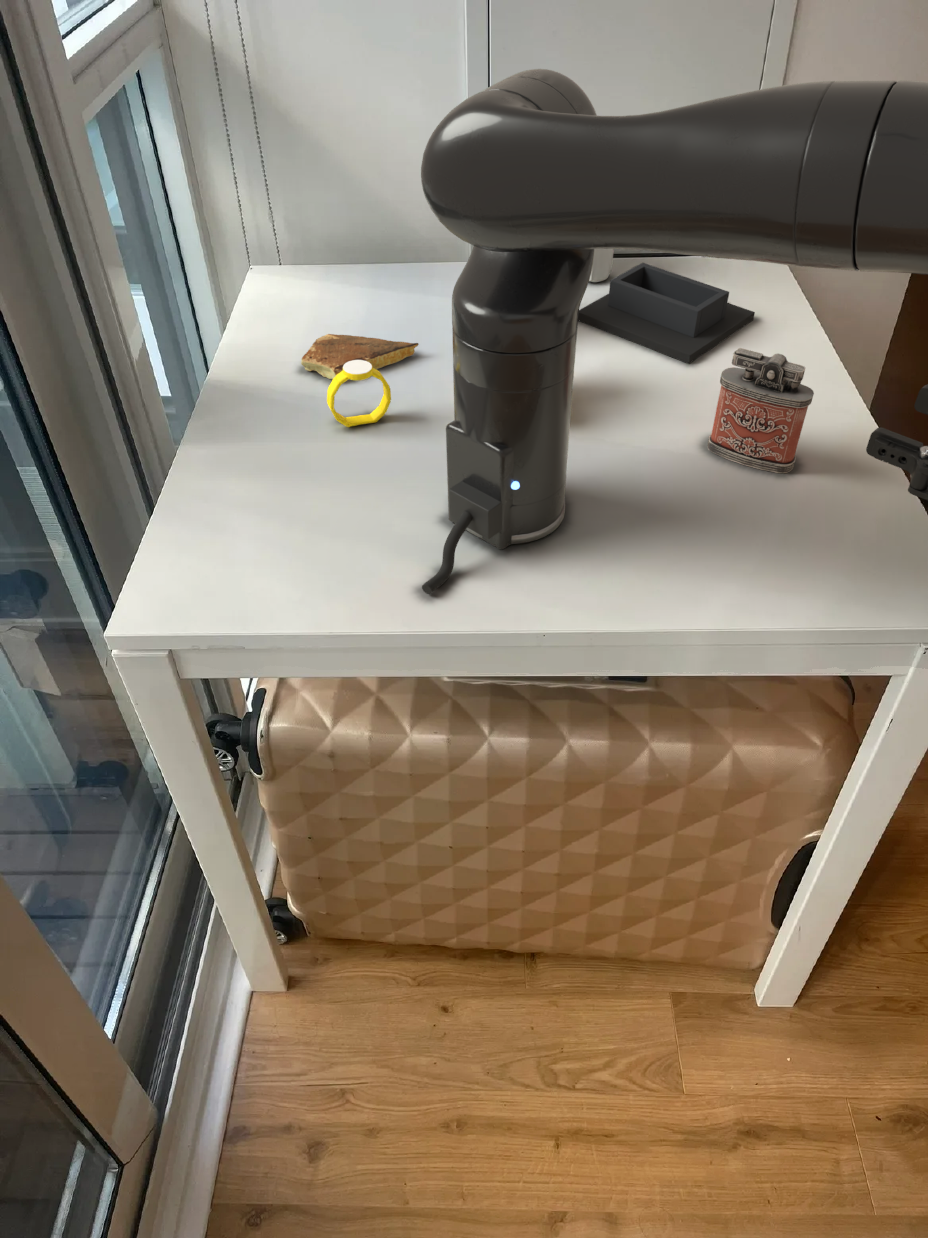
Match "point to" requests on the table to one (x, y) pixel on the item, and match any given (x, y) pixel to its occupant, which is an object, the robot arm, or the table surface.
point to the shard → (353, 353)
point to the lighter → (760, 411)
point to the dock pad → (666, 312)
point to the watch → (358, 372)
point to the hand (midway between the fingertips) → (895, 417)
